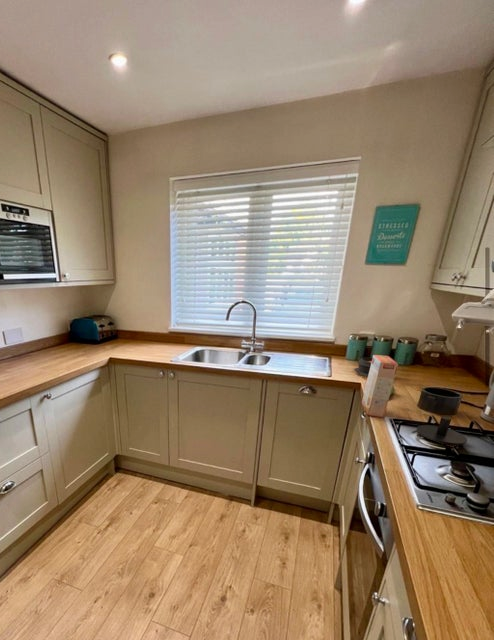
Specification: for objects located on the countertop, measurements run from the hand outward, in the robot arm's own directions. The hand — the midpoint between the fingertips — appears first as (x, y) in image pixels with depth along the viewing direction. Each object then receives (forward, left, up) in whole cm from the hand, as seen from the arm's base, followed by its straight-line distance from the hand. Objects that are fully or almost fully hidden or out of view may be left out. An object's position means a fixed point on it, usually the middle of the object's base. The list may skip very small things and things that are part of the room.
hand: (472, 331), depth 120 cm
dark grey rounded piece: (+44, -27, -32) cm, 60 cm away
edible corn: (+23, +3, -32) cm, 39 cm away
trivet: (-9, +30, -31) cm, 45 cm away
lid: (-9, +30, -30) cm, 44 cm away
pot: (+2, +5, -31) cm, 32 cm away
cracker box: (+16, +25, -32) cm, 43 cm away
